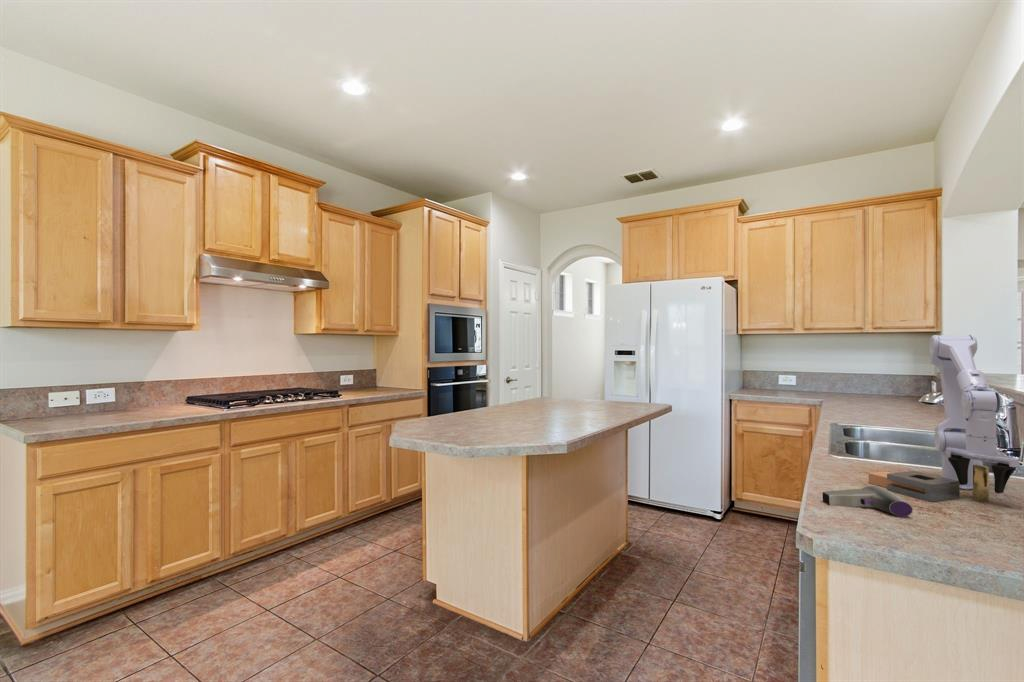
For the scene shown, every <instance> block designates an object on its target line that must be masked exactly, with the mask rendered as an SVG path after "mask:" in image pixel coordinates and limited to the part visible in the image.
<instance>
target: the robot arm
mask: <svg viewBox="0 0 1024 682" xmlns="http://www.w3.org/2000/svg"><path fill="white" fill-rule="evenodd" d="M928 350H929V359H930V362H931V365H933V366H936V367H938V371H939V375H940V385H941V392H942V399H943V409H944V417H945V420H943V421H942V422H940V423H938V424H937V425H936V426H935V428H934V437H933V438H934V447H935V449H936V450H937V451H938V452H940V453H941V477H943V478H948V479H952V480H957V481H960V489H963V490H973V465H983V466H984V464H983V462H984V463H985V462H986V463H991V469H992V473H993V479H994V489H993V490H994V492H995V493H996V494H1003V493H1004V491H1005V488H1006V486H1007V483H1008V481H1009V479H1010V477H1011V476H1012V475H1013V473H1014V472H1015V471H1016V469H1017V468H1018V467H1020V459H1019V458H1016V457H1015V458H1014V457H1010V456H1006V455H1001V454H997V414H998V413H999V412H1000V411H1001V408H1002V401H1001V399H1002V398H1001V396H1000V392H999V391H997V389H996V390H995V388H993V387H992V388H991V386H990V385H989V383H988V380H987V377H986V376H985V374H984V372H982V371H981V370H979V369H977V368H976V364H975V359H974V357H975V355H976V354H977V350H978V340H977V338H976V337H975V335H973V334H968V335H966V334H965V335H964V334H963V335H959V334H957V335H956V334H955V335H952V334H951V335H950V334H948V335H946V334H945V335H943V334H942V335H938V334H933V335H932V336H931V337H930V338H929V343H928Z"/></svg>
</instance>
